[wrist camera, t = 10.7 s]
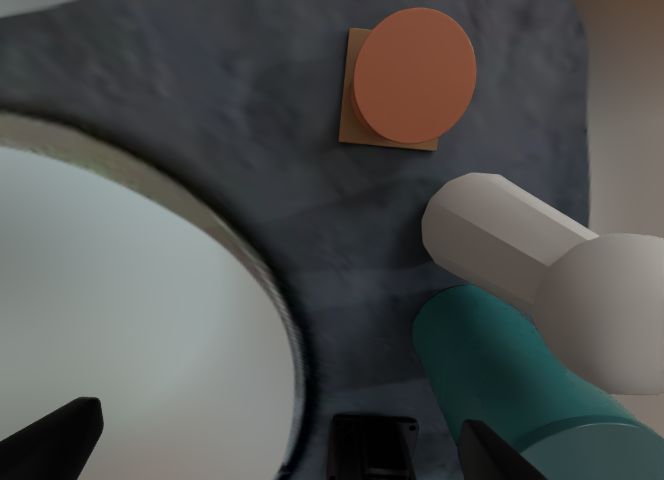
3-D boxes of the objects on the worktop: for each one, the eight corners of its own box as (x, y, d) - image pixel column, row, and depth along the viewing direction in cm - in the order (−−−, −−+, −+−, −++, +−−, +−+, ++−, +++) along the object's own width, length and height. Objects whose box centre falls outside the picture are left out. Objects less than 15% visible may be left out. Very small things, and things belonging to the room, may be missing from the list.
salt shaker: (503, 253, 21) (770, 424, 8) (415, 266, 21) (546, 453, 8) (505, 160, 19) (844, 203, 7) (408, 175, 19) (561, 244, 7)
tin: (499, 376, 24) (638, 565, 13) (402, 370, 23) (466, 559, 13) (525, 287, 22) (717, 429, 11) (419, 279, 21) (513, 418, 11)
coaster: (434, 151, 19) (436, 151, 18) (338, 141, 18) (338, 141, 18) (453, 41, 17) (456, 39, 17) (348, 29, 17) (349, 27, 16)
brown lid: (433, 147, 18) (462, 149, 14) (342, 138, 18) (346, 138, 14) (452, 42, 17) (489, 15, 13) (352, 31, 16) (361, 0, 13)
